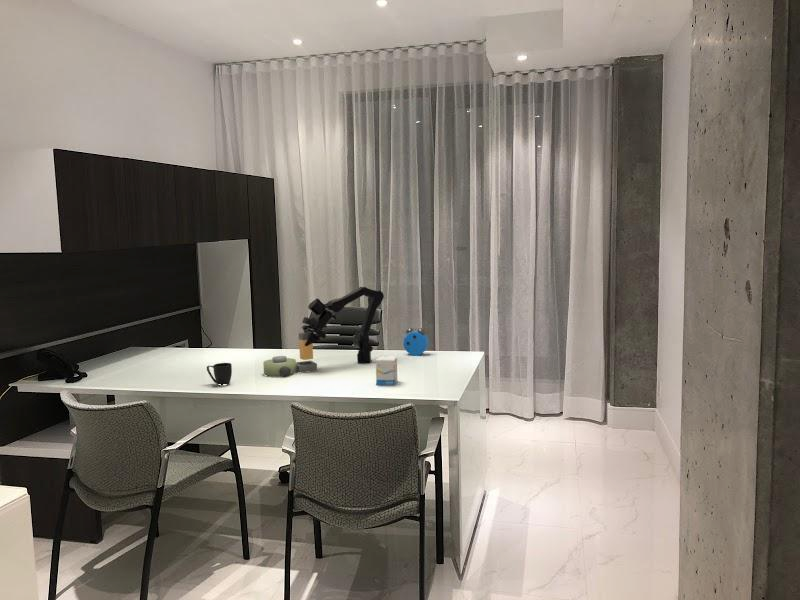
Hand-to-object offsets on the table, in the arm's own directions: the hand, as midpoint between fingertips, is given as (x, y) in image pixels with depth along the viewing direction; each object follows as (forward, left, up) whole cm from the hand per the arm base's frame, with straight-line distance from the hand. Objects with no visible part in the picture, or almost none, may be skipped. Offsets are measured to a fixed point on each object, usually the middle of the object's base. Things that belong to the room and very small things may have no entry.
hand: (303, 345), depth 326 cm
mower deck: (+7, +1, -13) cm, 15 cm away
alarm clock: (-51, -42, -14) cm, 68 cm away
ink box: (-46, +23, -14) cm, 53 cm away
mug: (+33, +28, -14) cm, 45 cm away
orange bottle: (-1, -1, -7) cm, 7 cm away
